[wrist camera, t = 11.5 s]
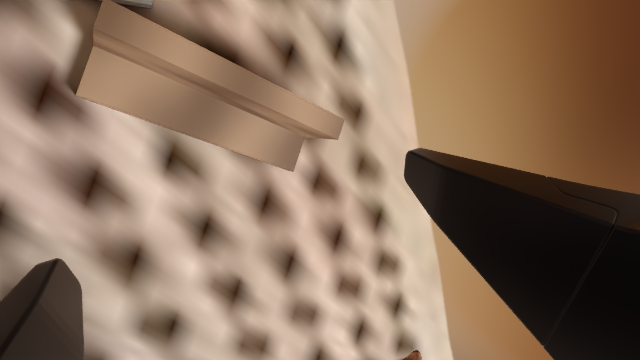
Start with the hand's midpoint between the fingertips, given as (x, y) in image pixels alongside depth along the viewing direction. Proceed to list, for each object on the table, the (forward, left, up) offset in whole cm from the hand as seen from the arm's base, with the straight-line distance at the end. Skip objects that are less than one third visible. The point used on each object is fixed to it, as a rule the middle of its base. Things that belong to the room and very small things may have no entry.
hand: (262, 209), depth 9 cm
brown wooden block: (+3, +2, -12) cm, 13 cm away
